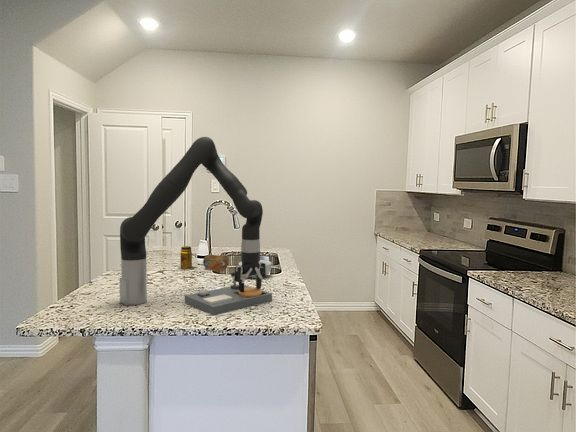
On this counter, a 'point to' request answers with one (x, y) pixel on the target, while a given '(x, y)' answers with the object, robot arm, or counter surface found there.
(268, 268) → the cereal bowl
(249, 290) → the orange button
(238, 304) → the control panel
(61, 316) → the counter surface
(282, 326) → the counter surface
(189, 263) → the condiment
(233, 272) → the toggle lever
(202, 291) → the grey button
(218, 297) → the key
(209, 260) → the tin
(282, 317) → the counter surface
